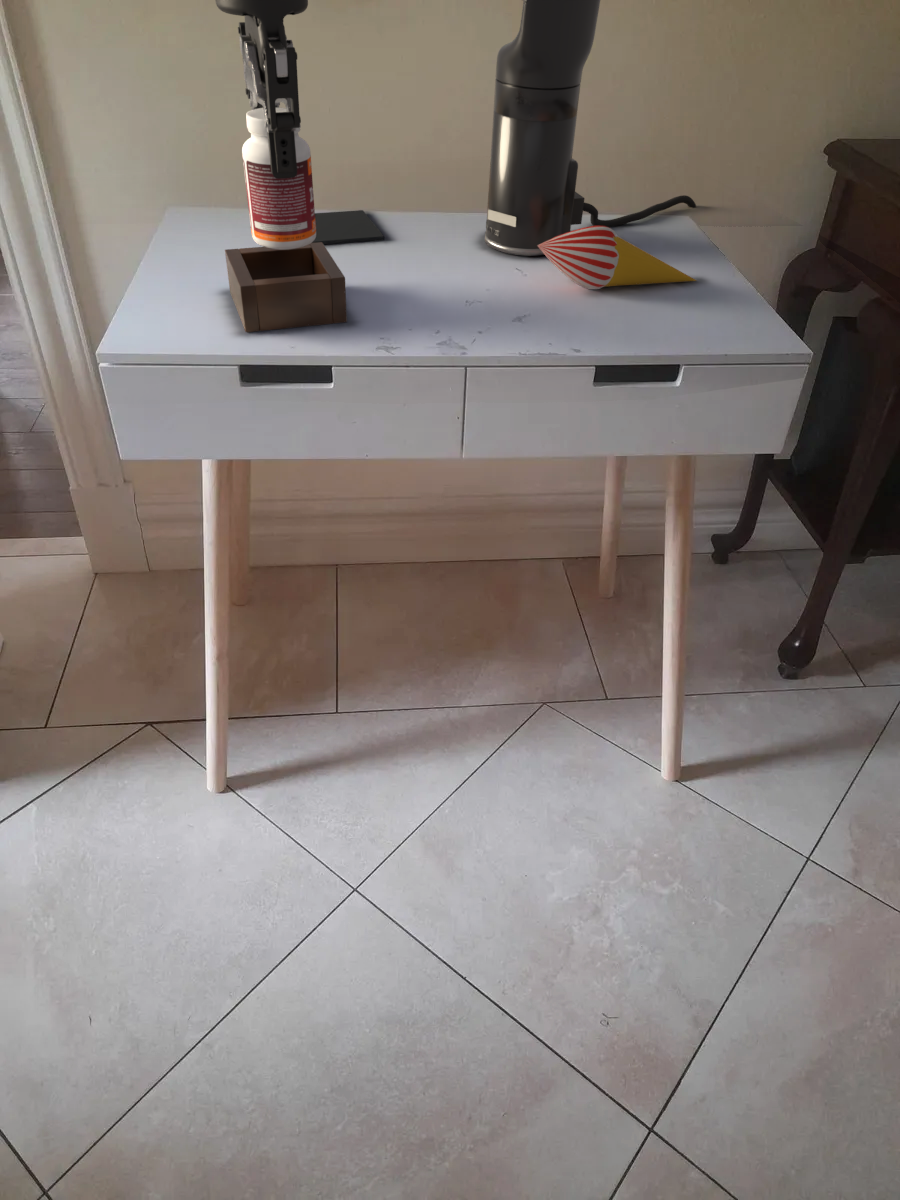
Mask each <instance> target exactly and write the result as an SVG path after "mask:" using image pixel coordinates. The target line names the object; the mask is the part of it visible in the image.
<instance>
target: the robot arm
mask: <svg viewBox="0 0 900 1200" xmlns="http://www.w3.org/2000/svg"><path fill="white" fill-rule="evenodd" d="M522 1H523V3H522V11H521V19H520V25H519V30H518V33H517V35H516V36H515V38H514V39H513V40H512V41H511V42H508V43H507V44H504V45H503V46H501V47H500V48H499V50H498V52H497V56H496V64H495V65H496V66H495V80H494V81H495V82H494V98H493V115H492V128H491V129H492V130H491V147H490V162H489V177H488V192H487V193H488V194H487V206H486V207H487V208H486V209H487V210H486V221H485V232H484V242H485V244H486V245H487V246H488V247H490V248H492V249H494V250H495V251H498V252H501V253H505V254H509V255H513V256H523V257H524V256H526V257H528V256H529V257H532V256H533V257H536V256H544V255H545V254H544V253H543V252H542V251H541V249H540V248H539V247H538V246H537V245H539V244H541V243H543V242H546V241H548V240H550V239H552V238H554V237H556V236H559V235H562V234H565V233H567V232H570V231H571V229H572V228H571V227H572V225H573V226H574V225H581V224H582V222H583V212H586V213H588V214H590V217H589V218H590V219H589V220H590V224H591V226H597V225H600V226H606V227H609V228H613V227H618V226H622V225H626V224H629V223H633V222H635V221H641V220H643V219H645V218H647V217H650V216H652V215H654V214H656V213H658V212H662V211H666V210H667V209H670V208H671V207H674V206H676V205H679V204H685V205H687V207H688V208H691V209H693V208H697V205H696V204H697V203H696V202H695V200H694V199H692V198H691V196H689V195H677V196H675V197H672V198H670V199H667V200H665V201H662V202H660V203H656V204H654V205H651V206H649V207H647V208H645V209H643V210H640V211H638V212H634V213H629V214H626V215H623V216H619V217H616V218H611V219H599V210H598V209H597V208H596V207H595V205H593V204H591V203H588V202H585V197H584V196H582V195H581V194H580V193H578V192H577V191H576V187H577V181H578V180H577V179H578V170H579V163H578V161H577V160H576V159H574V158H573V152H574V146H575V145H574V144H575V136H576V126H577V119H578V109H579V101H580V94H581V93H580V92H581V83H582V76H583V69H584V67H585V64H586V62H587V60H588V58H589V56H590V53H591V51H592V48H593V46H594V40H595V37H596V35H595V34H596V28H597V25H598V17H599V12H600V6H601V0H522ZM215 5H216V7H217V8H218V9H219V10H220V11H221V12H223V13H225V14H228V15H234V16H240V17H244V21H239V22H238V27H237V33H238V34H239V37H238V39H239V41H238V42H239V50H240V54H241V57H242V65H243V66H242V67H243V79H244V82H245V83H244V84H245V95H246V96H247V99H248V100H249V107H250V108H251V110H254V109H258V108H263V111H264V117H265V122H264V123H265V128H266V129H267V134H268V144H269V154H270V164H271V172H272V174H273V176H274V177H275V178H277V179H281V178H293V177H295V176H296V175H297V162H296V149H295V137H294V131H296V128H300V125H301V122H302V119H301V115H300V99H299V81H298V63H297V60H298V53H297V51H296V48H295V46H294V43H293V40H292V39H288V37H287V35H286V29H285V24H284V19H285V18H286V17H287V16H290V15H291V16H296V15H299V14H302V13H304V12H305V11H306V10H307V9H308V5H309V0H215ZM282 103H283V104H284V105H285V108H286V112H277V113H276V107H278V108H280V106H281V104H282ZM300 129H301V128H300ZM545 256H546V255H545Z"/></svg>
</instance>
